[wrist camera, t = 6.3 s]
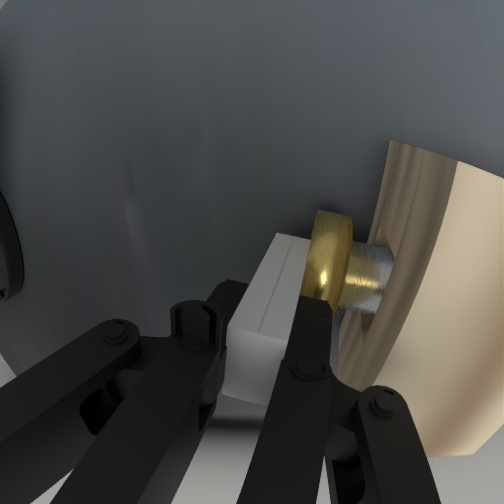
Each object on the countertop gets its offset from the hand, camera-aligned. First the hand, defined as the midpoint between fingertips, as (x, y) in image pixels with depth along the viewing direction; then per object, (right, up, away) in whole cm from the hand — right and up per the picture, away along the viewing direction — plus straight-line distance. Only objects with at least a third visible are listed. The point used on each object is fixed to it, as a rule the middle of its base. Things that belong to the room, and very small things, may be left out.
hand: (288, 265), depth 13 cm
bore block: (+9, 0, +2) cm, 9 cm away
